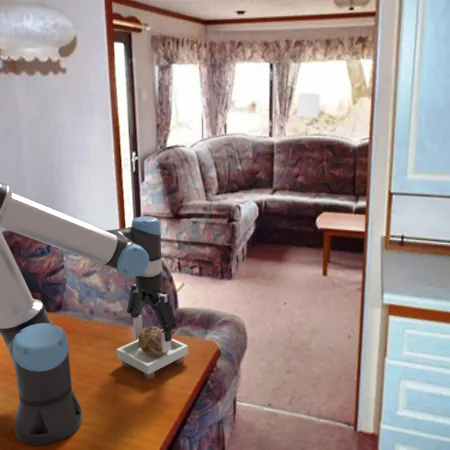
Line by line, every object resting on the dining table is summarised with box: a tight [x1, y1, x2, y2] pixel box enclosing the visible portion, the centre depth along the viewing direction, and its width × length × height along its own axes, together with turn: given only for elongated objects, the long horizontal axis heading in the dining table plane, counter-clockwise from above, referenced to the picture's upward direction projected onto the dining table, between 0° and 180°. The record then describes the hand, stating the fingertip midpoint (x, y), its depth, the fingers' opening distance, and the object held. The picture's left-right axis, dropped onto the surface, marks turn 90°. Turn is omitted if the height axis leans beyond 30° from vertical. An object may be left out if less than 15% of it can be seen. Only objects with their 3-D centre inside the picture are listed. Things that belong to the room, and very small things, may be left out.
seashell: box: [137, 325, 168, 357], centre depth 144 cm, size 10×9×10 cm
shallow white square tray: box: [115, 338, 189, 381], centre depth 145 cm, size 15×14×5 cm
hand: (152, 343), depth 144 cm, fingers open, 12 cm apart
